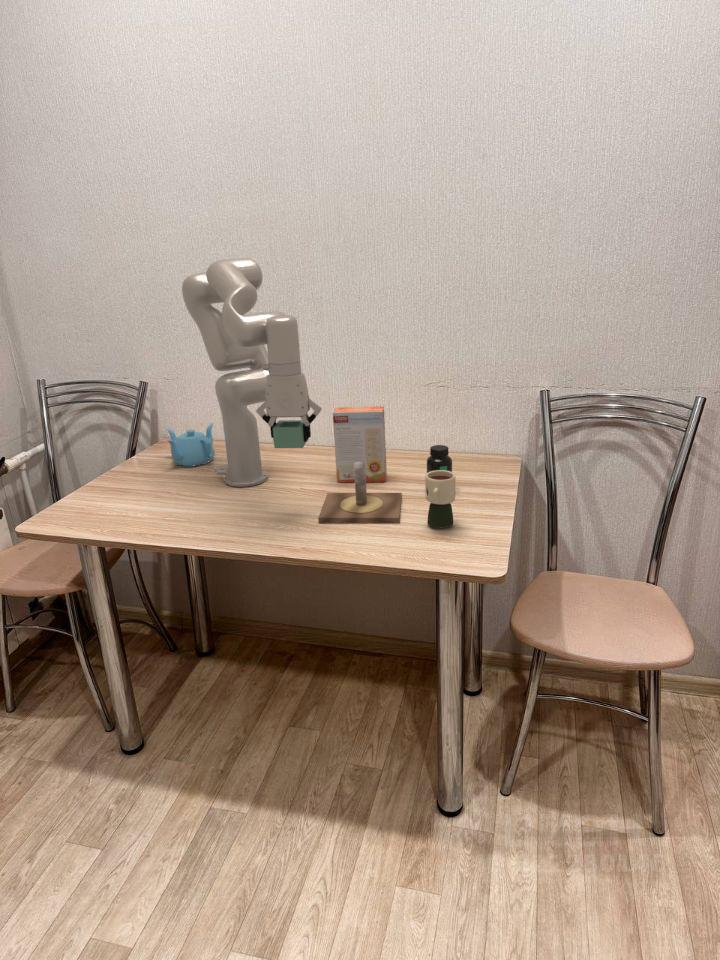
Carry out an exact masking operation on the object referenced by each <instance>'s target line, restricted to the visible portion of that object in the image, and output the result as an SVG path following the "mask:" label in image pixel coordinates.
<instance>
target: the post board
mask: <svg viewBox="0 0 720 960" xmlns="http://www.w3.org/2000/svg"><path fill="white" fill-rule="evenodd" d="M354 472H355V482H354V489H355V492H327V493H326V496H325V497H324V501H323V503H322V507H321V510H320V512H319V516H318V524H400V521H401V513H402V512H401V511H402V500H403V499H402V498H403V493H402V492H367V482H366V470H365V462H361V461H359V462H355V463H354Z"/></svg>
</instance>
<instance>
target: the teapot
mask: <svg viewBox="0 0 720 960" xmlns="http://www.w3.org/2000/svg"><path fill="white" fill-rule="evenodd" d="M213 425H214V422H211V423H209V425H207V428H206V432H205V434H204V433H203V432H200V431H195V429H187V430H186V431H185V432H184V433H181V434H180V435H178V437H177V435H176V433H175V431H174V430H173V429H171V428H168V427H167V428H165V430H166V431H167V432H168V433H169V436H170V440H169V439H168V440H166V442H168V443H169V444H170V454H171V457H172V460H173V461H174V462H175V464H177V465H179V466H181V465H183V466H182V467H194V466H193V465H199V466H201V465H200V464H203V463H206V462H208V461H210V460H211V461H213V459H214V458H215V454H216V453H215V448H214V446H213V444H214V439H213V438H214V437H213V434H212V432H213V431H212V428H213ZM211 461H210V462H211ZM208 463H209V462H208ZM206 464H207V463H206ZM203 465H204V464H203Z"/></svg>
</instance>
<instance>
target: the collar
mask: <svg viewBox="0 0 720 960" xmlns="http://www.w3.org/2000/svg"><path fill="white" fill-rule="evenodd" d="M276 423H277V424H276V425H275V426H274V428H273V437H274V441H273V446H274V447H273V448H274V449H303V448H304V446H305V445H306V443H307V442H305V441H304V434H303V426H304V423H303V421H302V419H297V420H296V419H290V420H289V419H280V420H278V421H276Z"/></svg>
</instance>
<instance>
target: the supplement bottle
mask: <svg viewBox="0 0 720 960" xmlns="http://www.w3.org/2000/svg"><path fill="white" fill-rule="evenodd" d="M449 453H450V452H449V447H448V446H447V445H444V444H443V445H442V444H435V445H431V446H430V449H429V456H428V457H427V459H426V473H428V472H431V471H436V470H446V471H450V472H453V459H452V457H451V456H449Z"/></svg>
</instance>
